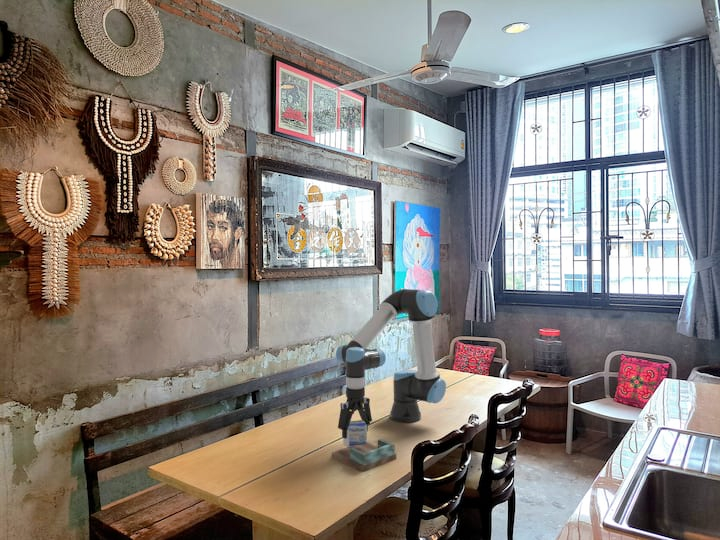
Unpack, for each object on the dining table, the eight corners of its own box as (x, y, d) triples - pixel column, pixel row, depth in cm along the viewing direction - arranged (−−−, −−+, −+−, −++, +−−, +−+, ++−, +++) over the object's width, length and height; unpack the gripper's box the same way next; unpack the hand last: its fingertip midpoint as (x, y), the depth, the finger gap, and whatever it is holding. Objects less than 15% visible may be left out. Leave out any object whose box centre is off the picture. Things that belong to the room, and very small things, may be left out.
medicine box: (346, 446, 198) (346, 424, 198) (344, 442, 202) (344, 421, 202) (366, 444, 200) (366, 422, 200) (363, 440, 204) (363, 419, 204)
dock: (365, 445, 210) (365, 431, 210) (396, 458, 197) (396, 443, 197) (331, 457, 198) (331, 442, 198) (362, 471, 185) (362, 455, 185)
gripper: (368, 380, 211) (368, 434, 211) (328, 389, 196) (328, 446, 197) (381, 384, 205) (381, 438, 206) (340, 393, 191) (340, 452, 191)
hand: (355, 442), depth 201 cm, fingers closed on medicine box, 9 cm apart
